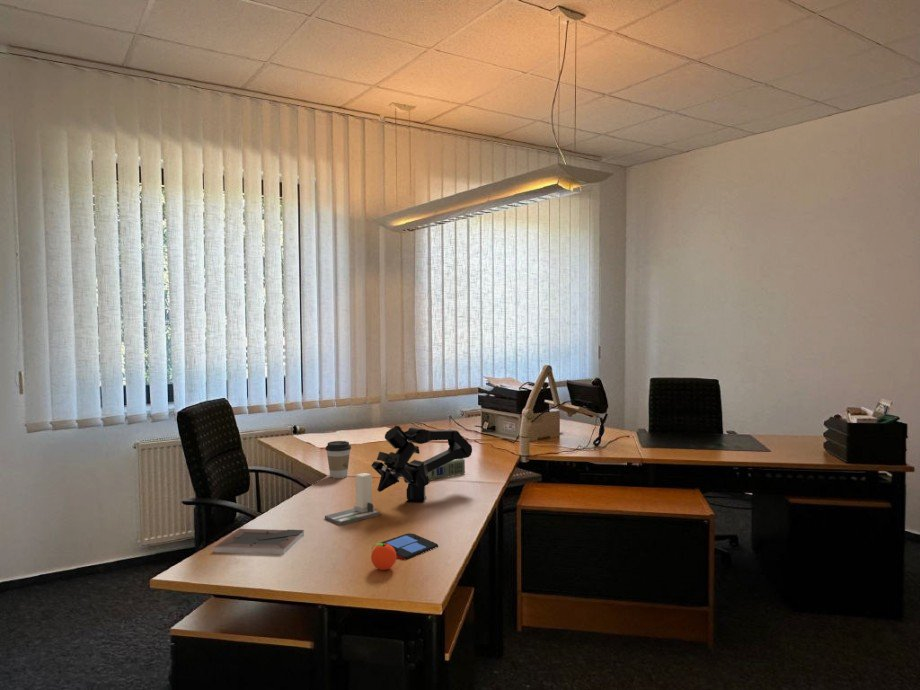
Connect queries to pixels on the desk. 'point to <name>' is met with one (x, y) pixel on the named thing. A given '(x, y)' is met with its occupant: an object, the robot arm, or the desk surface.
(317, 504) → the desk surface
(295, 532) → the picture frame
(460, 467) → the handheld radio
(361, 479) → the white tall block
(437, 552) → the desk surface
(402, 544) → the game console
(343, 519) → the board
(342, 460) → the coffee cup
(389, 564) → the clementine
